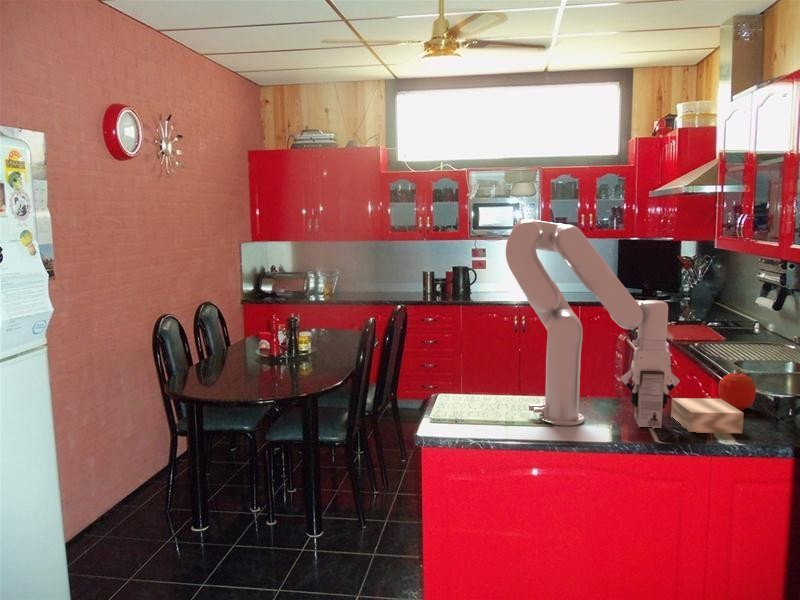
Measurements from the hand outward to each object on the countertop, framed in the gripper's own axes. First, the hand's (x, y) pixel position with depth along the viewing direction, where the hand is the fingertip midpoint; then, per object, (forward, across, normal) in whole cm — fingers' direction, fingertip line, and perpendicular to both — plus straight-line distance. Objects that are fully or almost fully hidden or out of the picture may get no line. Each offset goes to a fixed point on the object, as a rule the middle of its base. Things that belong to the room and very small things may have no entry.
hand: (648, 405), depth 184 cm
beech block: (+6, +16, +1) cm, 17 cm away
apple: (+5, +31, +19) cm, 37 cm away
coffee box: (+5, 0, 0) cm, 5 cm away
